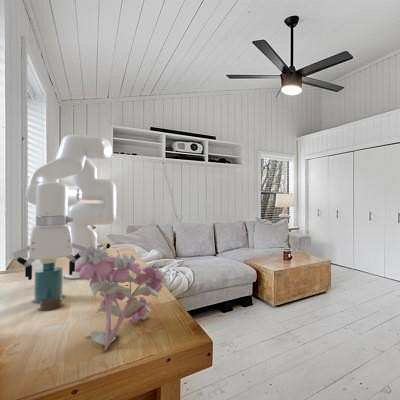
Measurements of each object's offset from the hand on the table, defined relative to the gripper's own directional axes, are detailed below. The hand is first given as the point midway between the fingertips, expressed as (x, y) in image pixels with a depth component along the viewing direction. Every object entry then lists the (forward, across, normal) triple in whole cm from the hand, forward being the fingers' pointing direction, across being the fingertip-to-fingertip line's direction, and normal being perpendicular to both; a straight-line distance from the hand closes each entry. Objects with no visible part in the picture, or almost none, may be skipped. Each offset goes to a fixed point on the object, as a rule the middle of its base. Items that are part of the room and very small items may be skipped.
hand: (51, 276), depth 91 cm
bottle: (+10, +1, -10) cm, 14 cm away
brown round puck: (+10, 0, -1) cm, 10 cm away
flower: (+10, -15, +30) cm, 35 cm away
